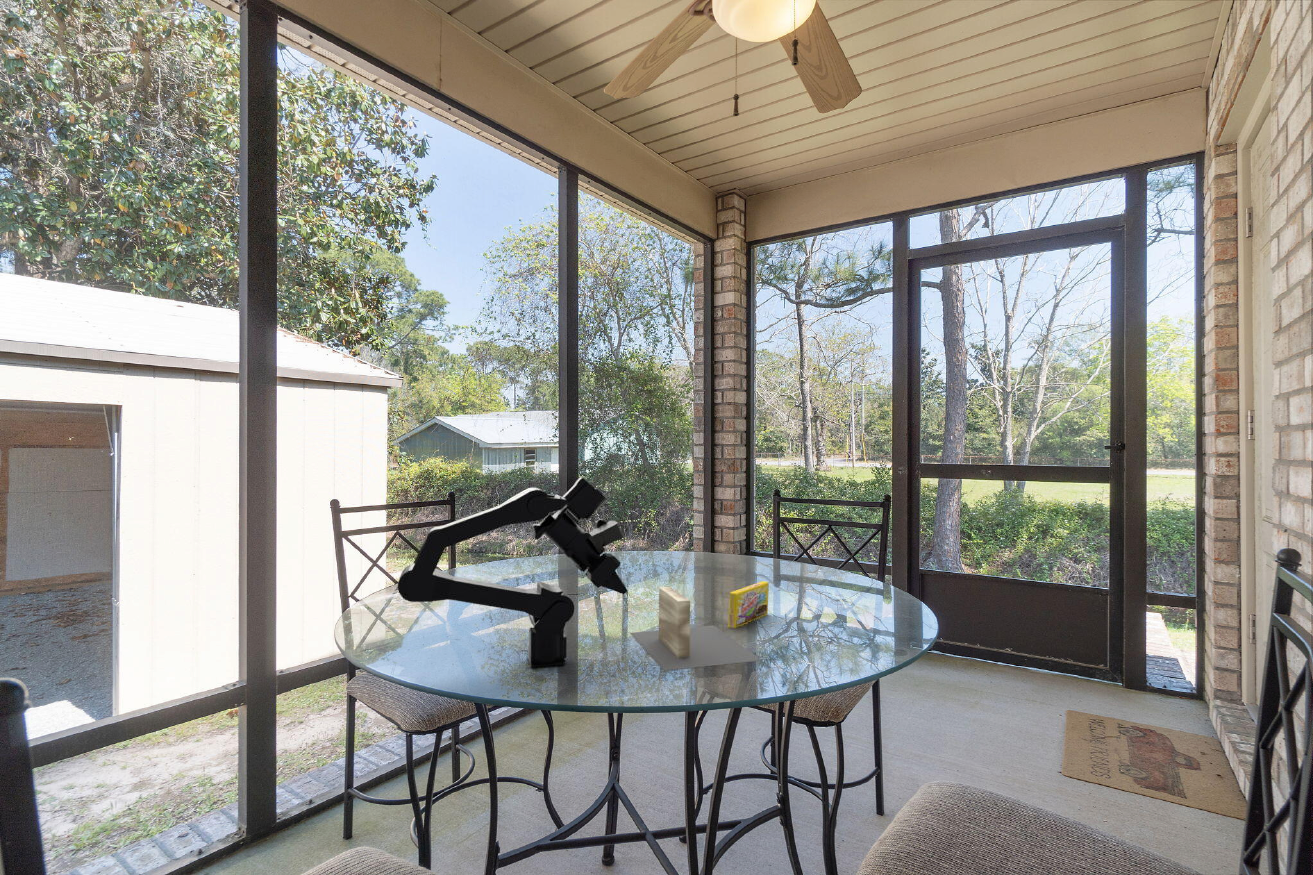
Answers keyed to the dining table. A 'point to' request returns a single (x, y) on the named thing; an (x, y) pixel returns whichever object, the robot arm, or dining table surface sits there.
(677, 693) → the dining table surface
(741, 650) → the mat
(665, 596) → the birch tile
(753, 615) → the candy box
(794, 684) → the dining table surface
